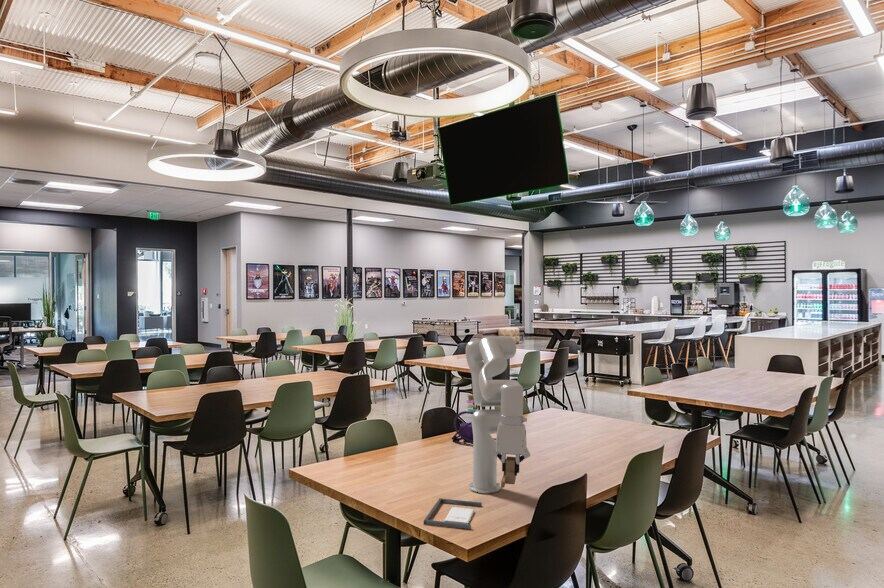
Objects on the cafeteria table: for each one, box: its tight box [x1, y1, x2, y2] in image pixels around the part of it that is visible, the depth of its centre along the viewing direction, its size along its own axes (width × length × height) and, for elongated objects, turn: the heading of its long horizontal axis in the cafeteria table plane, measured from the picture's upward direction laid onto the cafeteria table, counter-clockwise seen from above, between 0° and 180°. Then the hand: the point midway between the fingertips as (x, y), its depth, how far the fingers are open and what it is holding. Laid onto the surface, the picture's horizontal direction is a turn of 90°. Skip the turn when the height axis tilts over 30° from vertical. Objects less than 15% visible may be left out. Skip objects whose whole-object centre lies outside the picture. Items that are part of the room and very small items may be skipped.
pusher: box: [500, 455, 517, 489], centre depth 184 cm, size 11×4×8 cm, turn 166°
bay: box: [423, 498, 483, 530], centre depth 190 cm, size 22×16×1 cm
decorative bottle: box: [451, 393, 477, 443], centre depth 296 cm, size 22×21×25 cm
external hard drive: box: [443, 506, 475, 524], centre depth 188 cm, size 2×8×12 cm
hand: (510, 473), depth 184 cm, fingers closed on pusher, 3 cm apart
